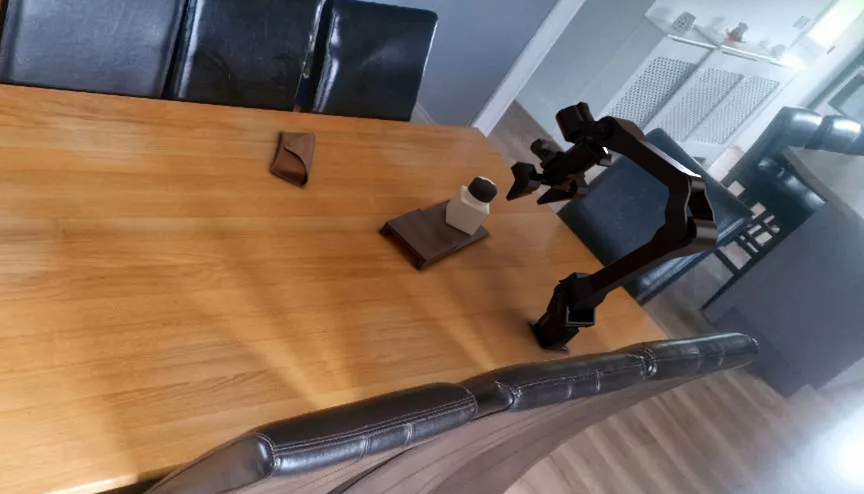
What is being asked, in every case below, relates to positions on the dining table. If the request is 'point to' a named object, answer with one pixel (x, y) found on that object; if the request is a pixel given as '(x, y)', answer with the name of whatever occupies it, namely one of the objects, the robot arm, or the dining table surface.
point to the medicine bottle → (471, 205)
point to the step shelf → (430, 234)
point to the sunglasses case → (294, 157)
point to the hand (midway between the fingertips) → (522, 201)
